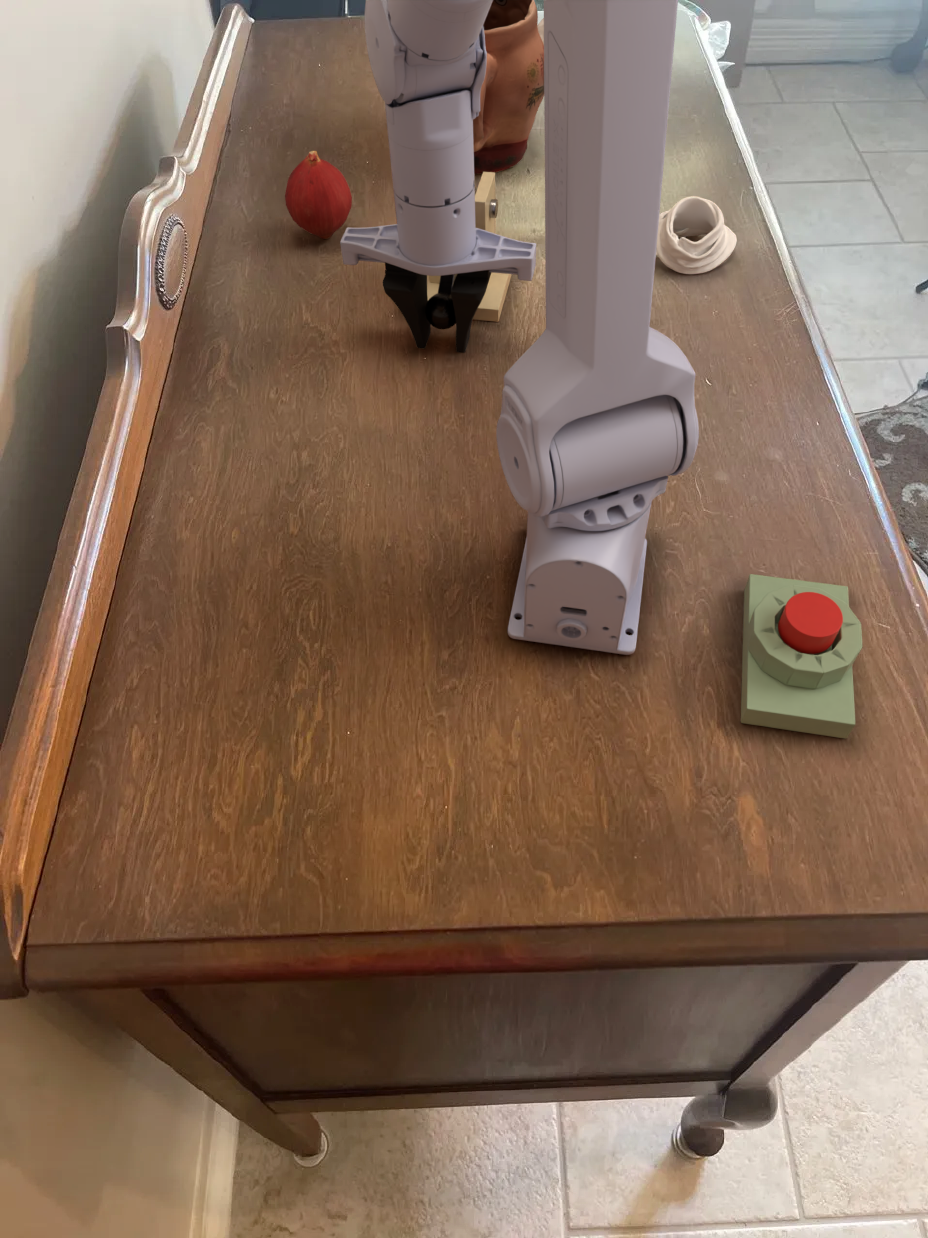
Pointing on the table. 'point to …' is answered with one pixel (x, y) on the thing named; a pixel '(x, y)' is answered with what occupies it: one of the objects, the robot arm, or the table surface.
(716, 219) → the beige draped scarf
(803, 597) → the button
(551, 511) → the robot arm
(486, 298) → the beige wooden stand
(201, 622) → the table surface
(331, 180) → the red squash
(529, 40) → the decorative planter
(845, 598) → the button block
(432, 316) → the lever
